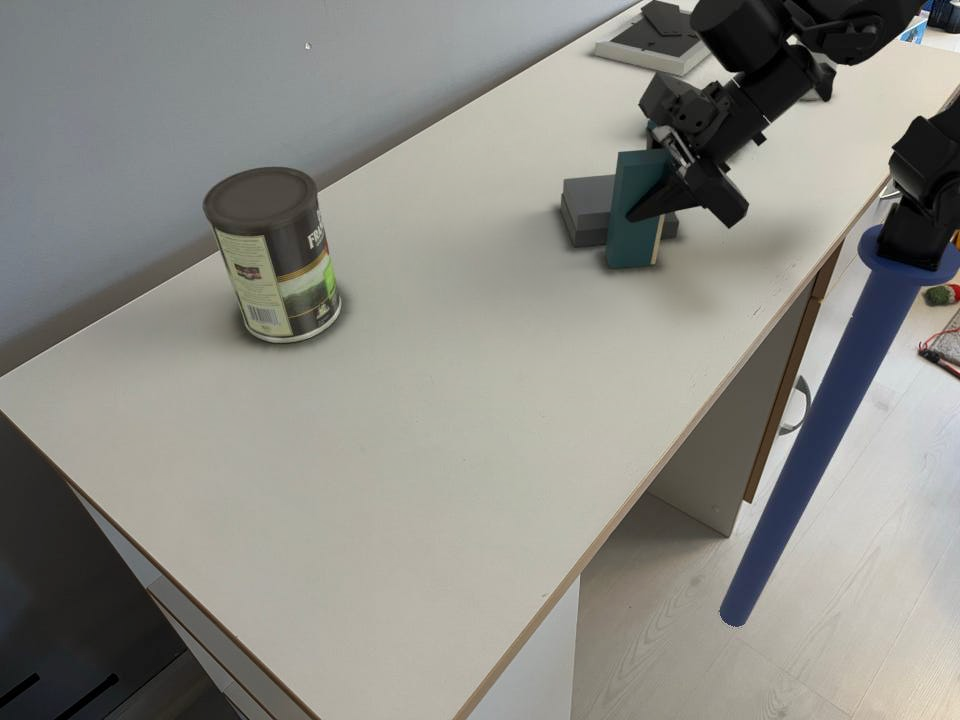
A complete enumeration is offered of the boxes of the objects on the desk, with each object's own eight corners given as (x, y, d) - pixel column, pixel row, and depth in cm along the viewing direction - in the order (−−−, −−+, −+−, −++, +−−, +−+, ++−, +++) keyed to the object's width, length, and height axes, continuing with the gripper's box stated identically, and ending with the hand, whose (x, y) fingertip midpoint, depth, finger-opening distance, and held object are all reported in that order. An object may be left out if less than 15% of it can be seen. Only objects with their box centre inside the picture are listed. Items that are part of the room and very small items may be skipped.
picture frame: (651, 15, 131) (594, 55, 119) (653, -1, 129) (596, 37, 117) (734, 33, 124) (682, 76, 112) (737, 16, 122) (685, 58, 110)
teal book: (648, 250, 81) (668, 147, 71) (654, 265, 79) (675, 162, 69) (604, 253, 81) (618, 151, 71) (609, 269, 79) (624, 166, 69)
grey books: (656, 199, 88) (661, 167, 85) (676, 237, 83) (683, 204, 79) (560, 208, 87) (562, 177, 84) (574, 247, 82) (576, 214, 79)
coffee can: (340, 274, 80) (316, 160, 70) (342, 336, 72) (315, 219, 62) (246, 285, 79) (208, 171, 69) (239, 349, 71) (195, 232, 61)
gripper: (671, 8, 70) (555, 123, 77) (745, 90, 57) (596, 221, 64) (731, 80, 76) (618, 181, 83) (810, 170, 63) (668, 281, 70)
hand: (624, 211), depth 75 cm, fingers closed on teal book, 3 cm apart
